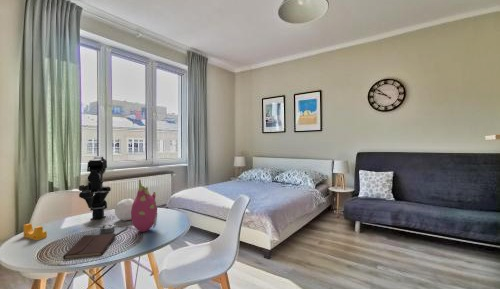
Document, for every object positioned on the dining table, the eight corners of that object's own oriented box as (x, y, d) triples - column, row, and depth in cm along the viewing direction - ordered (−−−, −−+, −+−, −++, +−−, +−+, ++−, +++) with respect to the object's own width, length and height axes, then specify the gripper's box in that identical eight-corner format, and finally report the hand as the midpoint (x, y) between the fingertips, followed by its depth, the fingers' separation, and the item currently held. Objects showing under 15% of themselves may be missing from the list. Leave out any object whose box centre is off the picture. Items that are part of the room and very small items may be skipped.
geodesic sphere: (128, 205, 164) (119, 192, 155) (146, 206, 162) (138, 192, 153) (115, 224, 153) (105, 210, 144) (135, 225, 150) (126, 212, 142)
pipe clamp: (46, 237, 124) (46, 225, 124) (36, 240, 120) (36, 228, 120) (33, 233, 129) (33, 222, 129) (23, 236, 125) (23, 224, 125)
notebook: (115, 236, 124) (115, 232, 124) (102, 255, 105) (102, 250, 105) (83, 239, 121) (83, 235, 120) (63, 259, 101) (63, 254, 101)
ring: (106, 229, 134) (105, 224, 134) (116, 229, 133) (116, 224, 133) (97, 234, 127) (97, 228, 127) (108, 234, 127) (108, 229, 127)
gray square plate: (104, 227, 138) (104, 221, 138) (126, 228, 137) (126, 222, 136) (85, 237, 124) (85, 230, 124) (110, 238, 123) (110, 232, 123)
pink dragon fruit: (156, 235, 127) (155, 180, 126) (128, 238, 123) (128, 182, 122) (158, 224, 144) (158, 176, 143) (134, 226, 140) (133, 177, 139)
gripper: (95, 177, 151) (95, 201, 152) (70, 182, 133) (70, 209, 133) (111, 177, 150) (111, 202, 151) (88, 183, 132) (88, 210, 132)
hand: (95, 205), depth 142 cm, fingers open, 9 cm apart
